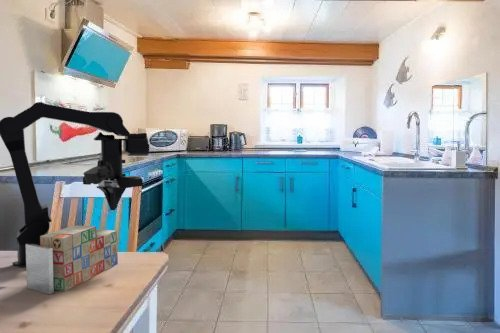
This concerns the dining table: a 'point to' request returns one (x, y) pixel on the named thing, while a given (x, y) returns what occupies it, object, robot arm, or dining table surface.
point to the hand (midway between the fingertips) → (112, 210)
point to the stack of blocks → (80, 254)
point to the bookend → (39, 268)
